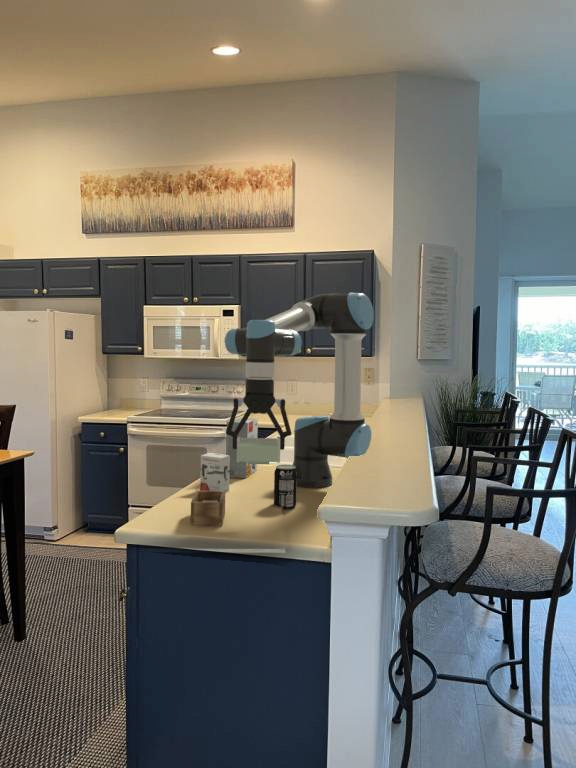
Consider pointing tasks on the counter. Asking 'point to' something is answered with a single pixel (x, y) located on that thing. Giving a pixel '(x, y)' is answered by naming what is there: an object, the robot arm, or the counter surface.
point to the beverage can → (285, 486)
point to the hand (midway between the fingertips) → (258, 461)
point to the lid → (258, 450)
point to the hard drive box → (241, 467)
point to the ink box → (214, 472)
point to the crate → (208, 509)
